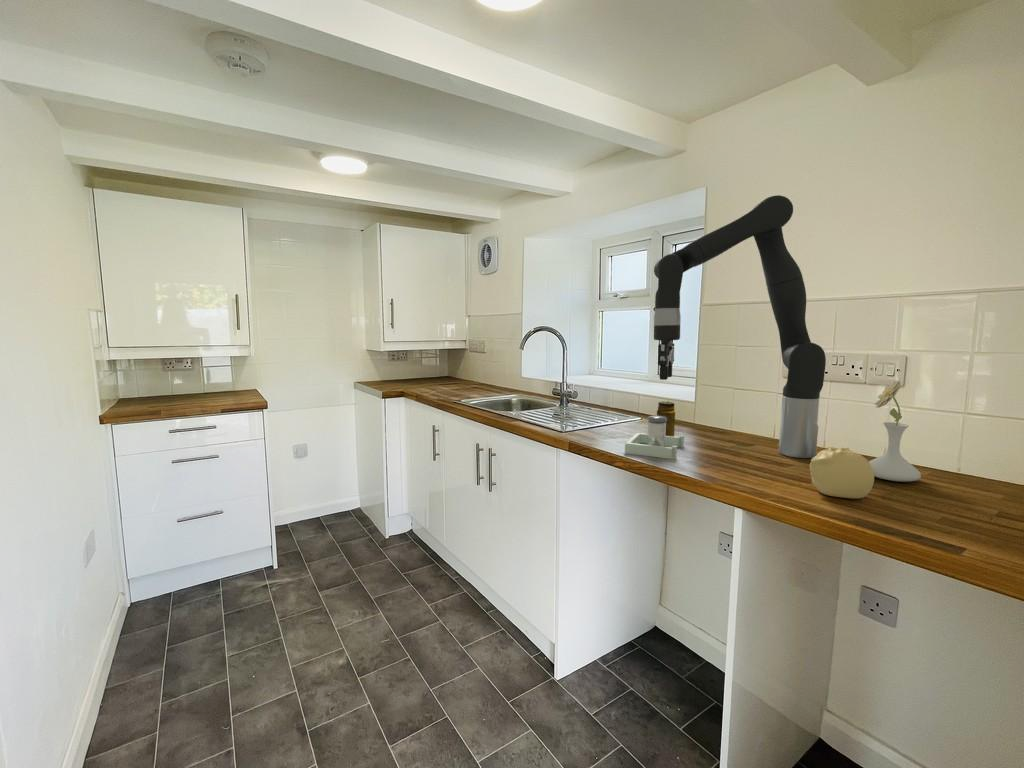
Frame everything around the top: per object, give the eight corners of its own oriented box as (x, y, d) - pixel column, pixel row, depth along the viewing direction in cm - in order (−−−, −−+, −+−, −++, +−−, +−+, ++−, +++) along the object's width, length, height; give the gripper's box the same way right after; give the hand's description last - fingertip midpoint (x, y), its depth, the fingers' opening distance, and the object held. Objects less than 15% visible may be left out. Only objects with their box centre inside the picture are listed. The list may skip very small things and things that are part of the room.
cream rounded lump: (816, 482, 115) (820, 439, 114) (877, 495, 106) (882, 448, 105) (800, 493, 108) (803, 447, 106) (864, 508, 99) (869, 457, 97)
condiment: (679, 437, 163) (680, 402, 162) (667, 441, 157) (668, 405, 156) (659, 433, 168) (661, 400, 167) (647, 437, 162) (648, 402, 161)
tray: (683, 446, 149) (684, 435, 149) (675, 459, 135) (676, 446, 135) (636, 441, 156) (637, 431, 155) (624, 453, 142) (625, 441, 141)
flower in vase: (868, 468, 126) (876, 375, 123) (924, 478, 118) (934, 379, 115) (855, 479, 118) (864, 379, 115) (915, 490, 109) (926, 383, 106)
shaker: (666, 449, 146) (667, 416, 145) (663, 453, 142) (664, 419, 140) (648, 447, 149) (649, 415, 148) (645, 451, 144) (646, 418, 143)
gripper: (676, 323, 133) (675, 381, 135) (683, 323, 146) (682, 376, 148) (649, 324, 137) (648, 380, 138) (658, 324, 149) (657, 375, 151)
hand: (665, 378), depth 143 cm, fingers open, 8 cm apart
